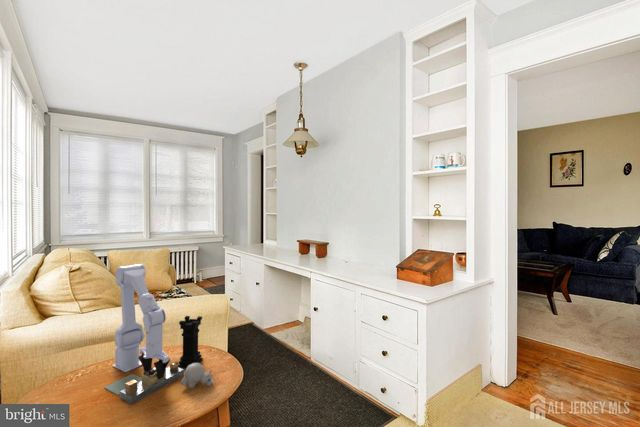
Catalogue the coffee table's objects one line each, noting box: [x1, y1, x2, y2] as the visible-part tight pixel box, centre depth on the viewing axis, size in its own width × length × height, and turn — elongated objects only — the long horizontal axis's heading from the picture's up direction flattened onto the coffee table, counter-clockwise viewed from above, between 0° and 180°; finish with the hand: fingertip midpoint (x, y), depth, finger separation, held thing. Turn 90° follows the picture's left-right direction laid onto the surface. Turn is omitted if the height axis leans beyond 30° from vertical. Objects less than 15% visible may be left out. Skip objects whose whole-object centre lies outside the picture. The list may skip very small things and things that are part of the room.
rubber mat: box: [103, 373, 142, 397], centre depth 129 cm, size 9×11×1 cm
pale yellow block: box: [141, 366, 166, 386], centre depth 128 cm, size 7×4×4 cm, turn 152°
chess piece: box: [178, 315, 204, 369], centre depth 145 cm, size 8×8×20 cm
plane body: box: [119, 361, 185, 405], centre depth 128 cm, size 22×7×6 cm, turn 152°
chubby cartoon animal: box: [180, 362, 215, 389], centre depth 129 cm, size 7×12×8 cm, turn 89°
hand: (154, 375), depth 128 cm, fingers open, 7 cm apart
